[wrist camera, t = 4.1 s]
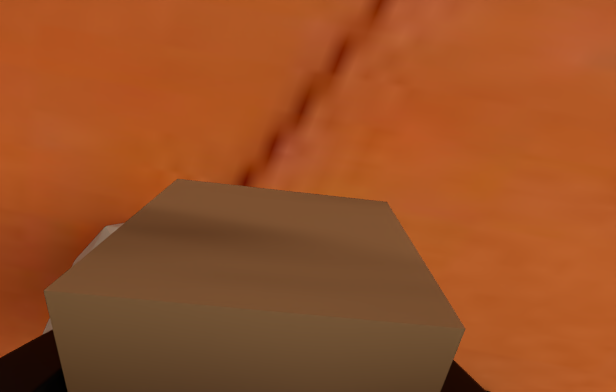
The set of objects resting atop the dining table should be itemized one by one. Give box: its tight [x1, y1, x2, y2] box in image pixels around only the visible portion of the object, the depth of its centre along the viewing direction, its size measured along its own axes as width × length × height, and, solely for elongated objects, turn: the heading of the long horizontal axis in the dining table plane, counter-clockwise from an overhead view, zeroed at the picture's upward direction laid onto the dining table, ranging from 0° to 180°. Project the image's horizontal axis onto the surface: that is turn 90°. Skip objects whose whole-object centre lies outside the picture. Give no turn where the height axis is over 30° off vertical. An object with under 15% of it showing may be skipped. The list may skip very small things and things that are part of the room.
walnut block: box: [44, 179, 465, 392], centre depth 6 cm, size 5×5×4 cm
